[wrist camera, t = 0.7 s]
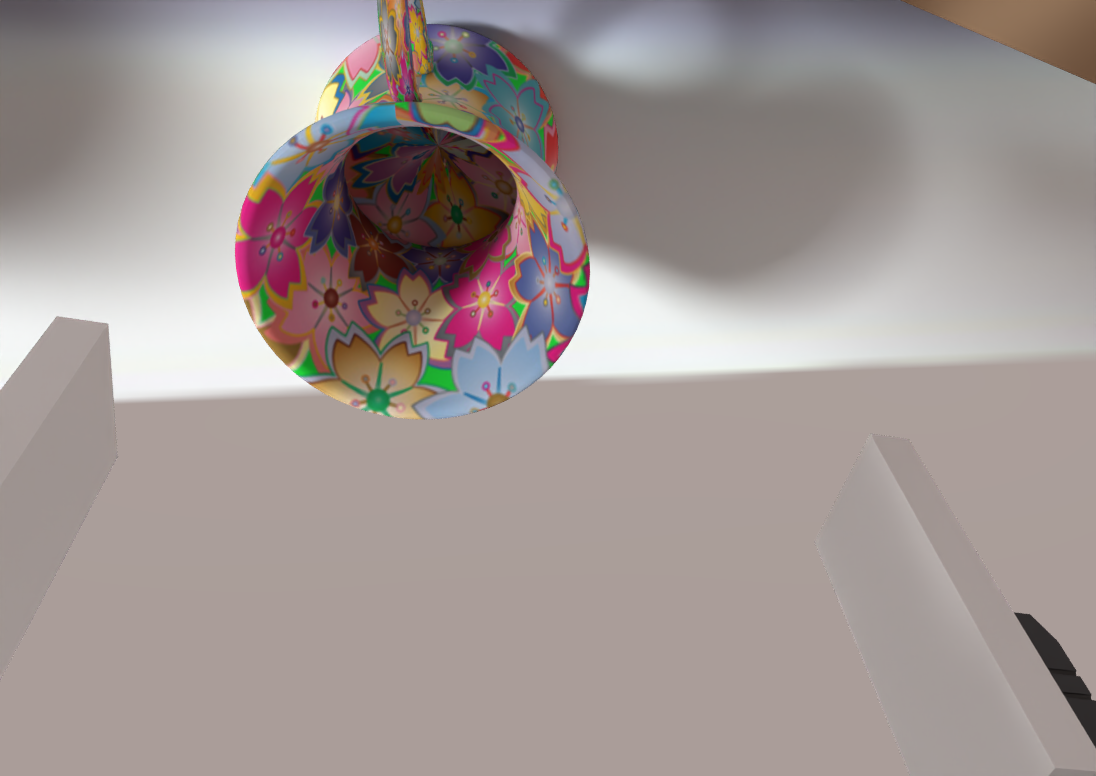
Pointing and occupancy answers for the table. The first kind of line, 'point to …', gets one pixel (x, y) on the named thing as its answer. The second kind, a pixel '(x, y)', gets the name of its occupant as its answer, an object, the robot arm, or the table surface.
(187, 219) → the table surface
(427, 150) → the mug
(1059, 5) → the stool
